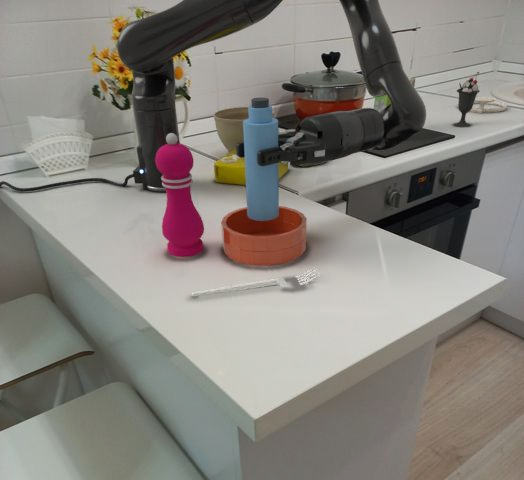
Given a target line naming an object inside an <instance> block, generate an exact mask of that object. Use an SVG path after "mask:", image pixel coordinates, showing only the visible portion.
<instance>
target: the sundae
mask: <svg viewBox="0 0 524 480" xmlns="http://www.w3.org/2000/svg"><path fill="white" fill-rule="evenodd" d="M479 74H480V71H477V72H476V75H475V78H477V76H478V75H479ZM477 83H478V80H477V79H474V77H470V78H469V79H468V80H465V81H464V83H462V84H461V82H459V87H460V88H458V89H457V90H456V92H457V93H458V104H457V109H458V111H459V112H460V113H461V116H460V120H459V121H458V122H455V123H453V126H455V127H459V128H466V127H467V128H468V127H470V126H471V124H470V123H467V122H466V116H467V114H468V113H469V112H471V111H470V110H471V109H472V108H474V101H475V98H476V97H477V95H478V94H479V93H480V91H481V90H479V85H478V84H477Z"/></svg>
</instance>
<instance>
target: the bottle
mask: <svg viewBox="0 0 524 480" xmlns="http://www.w3.org/2000/svg"><path fill="white" fill-rule="evenodd" d="M247 107H248V111H249V118H248V119H246V120H244V121H243V131H244V154H245V176H246V185H245V193H246V194H245V195H246V207H247V216H248V217H249V218H250V219H252V220H256V221H268V220H272V219H275V218H277V217H278V215H279V206H280V199H279V198H280V195H279V194H280V191H279V190H280V189H279V187H280V186H279V185H280V183H279V180H280V179H279V165H278V163H275V164H271V165H267V166H259V165H258V163H257V153H258V151H260V150H265V149H269V148H274V147H278V129H279V120H278V119H277V118H275V117H273V118H272V110H273V105H271V104H270V99H269V98H268V97H253V98H251V105H248V106H247Z"/></svg>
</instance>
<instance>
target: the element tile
mask: <svg viewBox="0 0 524 480" xmlns="http://www.w3.org/2000/svg"><path fill="white" fill-rule="evenodd" d="M278 165H279V180H280V179H281V178H282V177H283V176H284V175H286V173H287V172H288V171H289V162H288V163H285V164H282V163H280V161H279V163H278ZM213 171H214V173H213V174H214V181H215V182H216V183H219V184H229V185H240V186H246V176H245V157H242V158H240V157H238V156H237V152H236V149H235V150H233V151H231V152H230V153H229V152H228V153H227V154H225V155H223V156H222V157H221V158H219V159H218V160H216V161H214V163H213Z"/></svg>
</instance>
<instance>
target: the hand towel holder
mask: <svg viewBox="0 0 524 480" xmlns="http://www.w3.org/2000/svg"><path fill="white" fill-rule="evenodd" d="M474 104H476V105H479V106H478V107H472V109H471V110H470V111H469V112H473V113H478V114H483V113H499V112H504V111H506V110H507V109H508V105H507V104H506V103H503V102H500V101H497V99H496V98H495V97H492V96H476V98H475V101H474ZM474 104H473V105H474ZM485 105H492V106H497V108H485Z"/></svg>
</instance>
